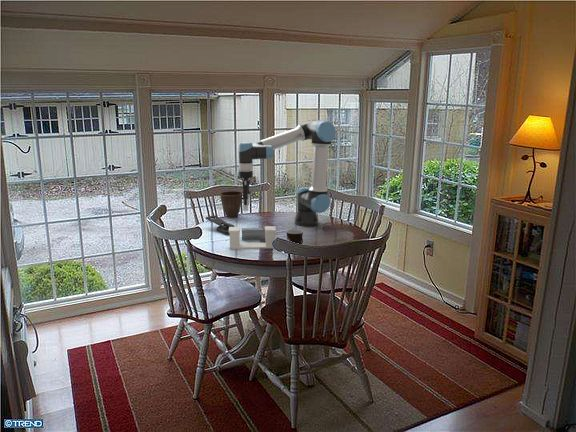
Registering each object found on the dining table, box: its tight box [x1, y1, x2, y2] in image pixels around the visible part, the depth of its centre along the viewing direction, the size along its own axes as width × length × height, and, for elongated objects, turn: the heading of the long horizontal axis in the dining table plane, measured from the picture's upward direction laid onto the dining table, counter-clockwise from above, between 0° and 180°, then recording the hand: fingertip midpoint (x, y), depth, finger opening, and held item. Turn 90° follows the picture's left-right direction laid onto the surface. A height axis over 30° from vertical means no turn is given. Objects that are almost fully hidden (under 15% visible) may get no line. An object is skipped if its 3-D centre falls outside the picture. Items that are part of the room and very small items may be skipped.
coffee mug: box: [286, 228, 304, 245], centre depth 256 cm, size 12×9×10 cm
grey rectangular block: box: [241, 227, 264, 241], centre depth 277 cm, size 12×4×6 cm, turn 94°
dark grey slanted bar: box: [205, 214, 236, 236], centre depth 295 cm, size 9×7×25 cm
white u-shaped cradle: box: [229, 225, 277, 250], centre depth 263 cm, size 25×8×10 cm, turn 94°
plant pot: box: [219, 190, 243, 219], centre depth 326 cm, size 15×15×16 cm
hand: (246, 207), depth 277 cm, fingers open, 13 cm apart
